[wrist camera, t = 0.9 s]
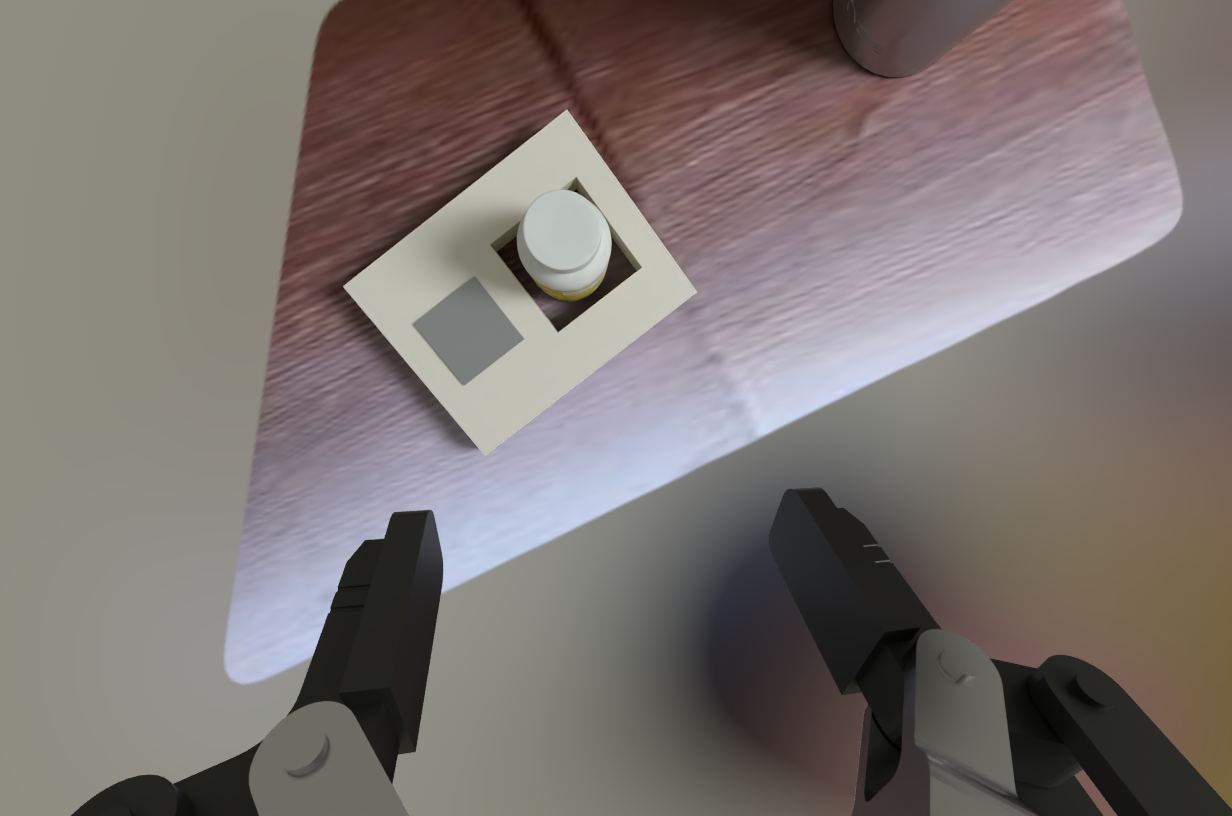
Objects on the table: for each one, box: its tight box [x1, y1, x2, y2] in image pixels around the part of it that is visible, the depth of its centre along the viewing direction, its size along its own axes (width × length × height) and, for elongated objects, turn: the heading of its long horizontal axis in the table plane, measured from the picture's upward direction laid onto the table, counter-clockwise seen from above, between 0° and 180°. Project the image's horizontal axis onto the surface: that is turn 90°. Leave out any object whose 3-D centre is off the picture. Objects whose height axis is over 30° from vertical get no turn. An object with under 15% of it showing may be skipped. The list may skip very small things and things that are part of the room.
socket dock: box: [343, 110, 697, 456], centre depth 33 cm, size 18×14×3 cm
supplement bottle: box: [517, 189, 612, 301], centre depth 29 cm, size 5×5×10 cm
